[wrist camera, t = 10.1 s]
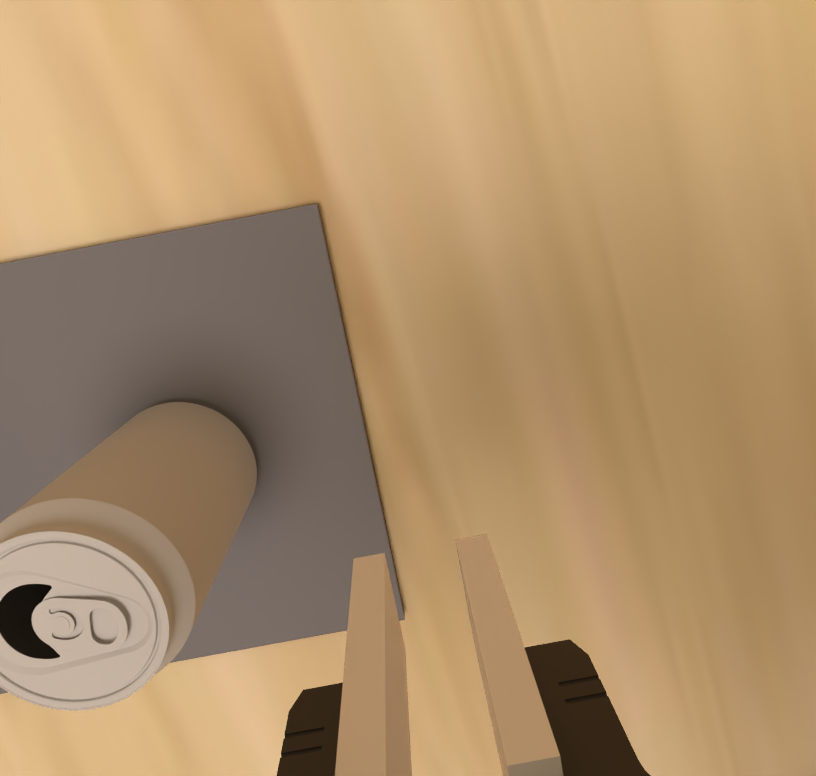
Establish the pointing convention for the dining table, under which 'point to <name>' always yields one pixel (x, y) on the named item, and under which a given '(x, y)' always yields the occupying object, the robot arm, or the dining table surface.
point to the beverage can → (120, 557)
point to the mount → (207, 400)
